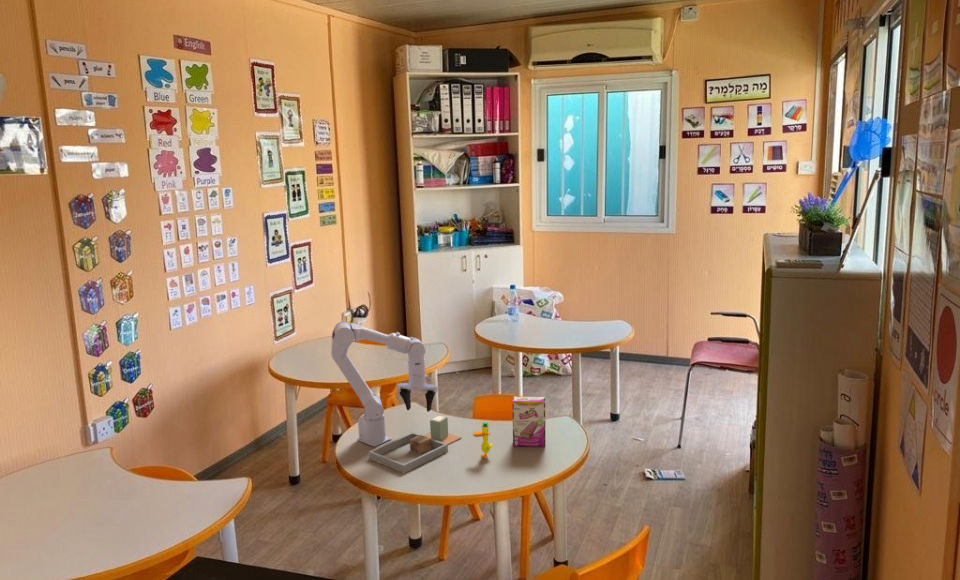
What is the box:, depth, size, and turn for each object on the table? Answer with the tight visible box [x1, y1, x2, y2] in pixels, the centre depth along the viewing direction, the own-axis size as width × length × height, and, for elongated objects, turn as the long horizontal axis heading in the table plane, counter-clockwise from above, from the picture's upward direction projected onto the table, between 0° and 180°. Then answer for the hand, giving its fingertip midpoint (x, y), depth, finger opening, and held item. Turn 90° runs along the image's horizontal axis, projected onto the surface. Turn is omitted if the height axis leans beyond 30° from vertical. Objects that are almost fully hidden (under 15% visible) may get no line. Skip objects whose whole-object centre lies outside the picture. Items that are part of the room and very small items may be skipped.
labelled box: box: [429, 415, 449, 441], centre depth 243 cm, size 4×5×7 cm
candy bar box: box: [512, 396, 547, 448], centre depth 235 cm, size 11×5×16 cm, turn 84°
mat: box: [423, 431, 462, 446], centre depth 244 cm, size 12×9×1 cm
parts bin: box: [368, 432, 449, 474], centre depth 231 cm, size 17×20×2 cm
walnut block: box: [409, 434, 432, 455], centre depth 235 cm, size 5×5×4 cm
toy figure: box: [472, 421, 494, 459], centre depth 227 cm, size 7×4×12 cm, turn 100°
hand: (418, 409), depth 245 cm, fingers open, 7 cm apart
